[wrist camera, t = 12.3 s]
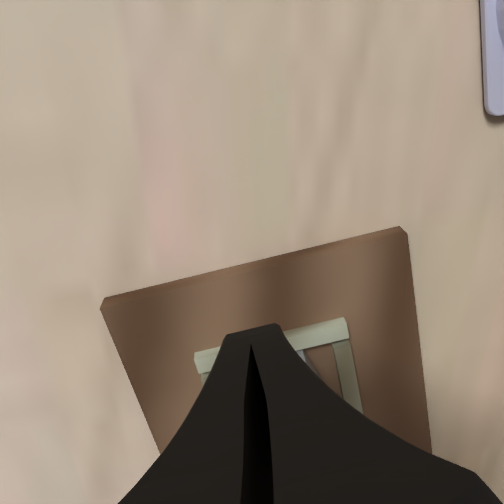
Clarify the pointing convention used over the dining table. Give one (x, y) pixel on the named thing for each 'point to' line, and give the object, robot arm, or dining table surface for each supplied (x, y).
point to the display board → (284, 330)
